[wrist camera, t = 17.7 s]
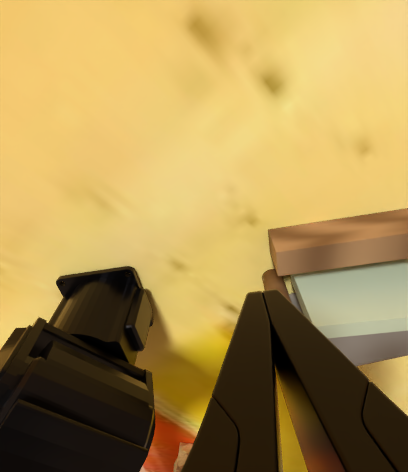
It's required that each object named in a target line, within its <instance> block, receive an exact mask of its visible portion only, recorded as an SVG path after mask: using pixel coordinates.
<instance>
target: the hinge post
mask: <svg viewBox="0 0 408 472" xmlns="http://www.w3.org/2000/svg"><path fill="white" fill-rule="evenodd" d="M262 279H263V283H264V287H265V290H272V289H277V290H279V291H280V292H281V293H282V294H283V295H284V296H285V297H286V298H287V299H288V300H289V301H290V302H291V299H290V296H289V294H288V291H287V288H286V285H285V282H284V279H283V276H278V275H277V272H276V269H270V270H268V271H266V272H265V273H264V274H263V276H262ZM291 303H292V302H291Z"/></svg>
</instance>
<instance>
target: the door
mask: <svg viewBox="0 0 408 472" xmlns="http://www.w3.org/2000/svg"><path fill="white" fill-rule="evenodd" d="M291 282H292V285H293V288H294V290H295V293H296V295H297V298H298V301H299V303H300V306H301V309H302V311H303V314H304V316H305V317H306V318H307V319H308V320H309V321H310V322H311V323H312V324H313V325H314V326H315V327H316V328H317V329H319V330H320V331H321V332H322V333H323V334H324V335H325V336H326V337H327V338H337V337H347V336H357V335H367V334H378V333H388V332H398V331H408V258H407V259H400V260H393V261H386V262H378V263H371V264H364V265H356V266H349V267H342V268H334V269H327V270H320V271H313V272H305V273H298V274H291Z"/></svg>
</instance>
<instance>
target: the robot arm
mask: <svg viewBox="0 0 408 472" xmlns="http://www.w3.org/2000/svg"><path fill="white" fill-rule="evenodd" d="M126 272H130V273H131V274H128V273H126ZM62 281H63V282H65V283H63V282H62ZM56 285H57V286H58V288H59V290H60V292H61V294H62V295H63V299H62V301H61V302H60V304H59V306H58V308H57V309H56V311H55V313H54V314H53V316H52V318H51V319H50V321H49V323H46V320H44V319H42V318H40V317H39V318H38V319H37V320H36V322H35V323H34V324H33V325H32V326H30V325H29V326H28V327H27V328H16V329H15V330H14V331H13V333H12V334H11V336H10V337H9V338H8V340H7V341H6V343H5V344H4V346H3V347H2V348H1V350H0V472H139V471H140V469H141V467H142V465H143V463H144V462H145V460H146V458H147V455H148V452H149V449H150V446H151V443H152V440H153V436H154V430H155V409H154V395H153V382H152V373H151V372H149V371H147V370H142V369H140V368H138V367H136V366H135V361H136V357H137V353H138V351H143V349H144V348H145V344H146V339H147V335H148V330H149V327H151V326H152V324H153V317H152V308H151V305H150V302H149V300H148V297H147V294H146V292H145V290H144V289H143V288H141V285H140V283H139V280H138V277H137V275H136V272H135V270H134V268H132V267H130V266H126V267H119V268H112V269H105V270H99V271H92V272H85V273H78V274H72V275H65V276H60V277H59V278H58V279H57V281H56ZM275 369H276V372H275ZM276 373H277V376H278V379H279V383H280V386H281V389H282V392H283V395H284V398H285V401H286V404H287V407H288V410H289V413H290V417H291V420H292V423H293V426H294V429H295V432H296V435H297V438H298V441H299V444H300V447H301V451H302V454H303V457H304V460H305V463H306V466H307V469H308V472H408V416H407V415H406V414H405V413H404V412H403V411H402V410H401V409H400V408H399V407H398V406H396V405H395V404H394V403H393V402H392V401H391V400H390V399H389V398H388V397H387V396H386V395H385V394H384V393H383V392H382V391H381V390H380V389H379V388H378V387H377V386H376V385H375V384H374V383H373V382H369V379H368V378H367V377H366V376H365V375H364V374H363V373H362V372H361V371H360V370H359V369H358V368H357V367H356V366H355V365H354V364H353V363H352V362H351V361H350V360H349V359H348V358H347V357H346V356H345V355H344V354H343V353H342V352H341V351H340V350H339V349H338V348H337V347H336V346H335V345H334V344H333V343H332V342H331V341H330V340H329V339H328V338H327V337H326V336H325V335H324V334H323V333H322V332H321V331H320V330H319V329H317V328H316V327H315V326H314V325H313V324H312V323H311V322H310V321H309V320H308V319H307V318H306V317H305V316H304V315H303V314H302V313H301V312H300V311H299V310H298V309H297V308H296V307H295V306H294V305H293V304H292V303H291V302H290V301H289V300H288V299H287V298H286V297H285V296H284V295H283V294H282V293H281V292H280V291H279V290H277V289H272V290H265V291H263V293H262V292H261V291H257V292H249V293H248V294H247V295H246V298H245V301H244V304H243V307H242V310H241V312H240V315H239V318H238V321H237V324H236V327H235V330H234V333H233V336H232V338H231V341H230V344H229V347H228V350H227V353H226V356H225V359H224V362H223V364H222V367H221V370H220V373H219V376H218V379H217V382H216V385H215V388H214V390H213V393H212V398H211V399H210V402H209V404H208V407H207V410H206V413H205V416H204V418H203V421H202V424H201V426H200V429H199V431H198V434H197V437H196V439H195V441H194V443H193V446H192V448H191V450H190V452H189V454H188V457H187V459H186V461H185V463H184V465H183V467H182V469H181V472H283V465H282V451H281V438H280V424H279V410H278V396H277V383H276Z"/></svg>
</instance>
